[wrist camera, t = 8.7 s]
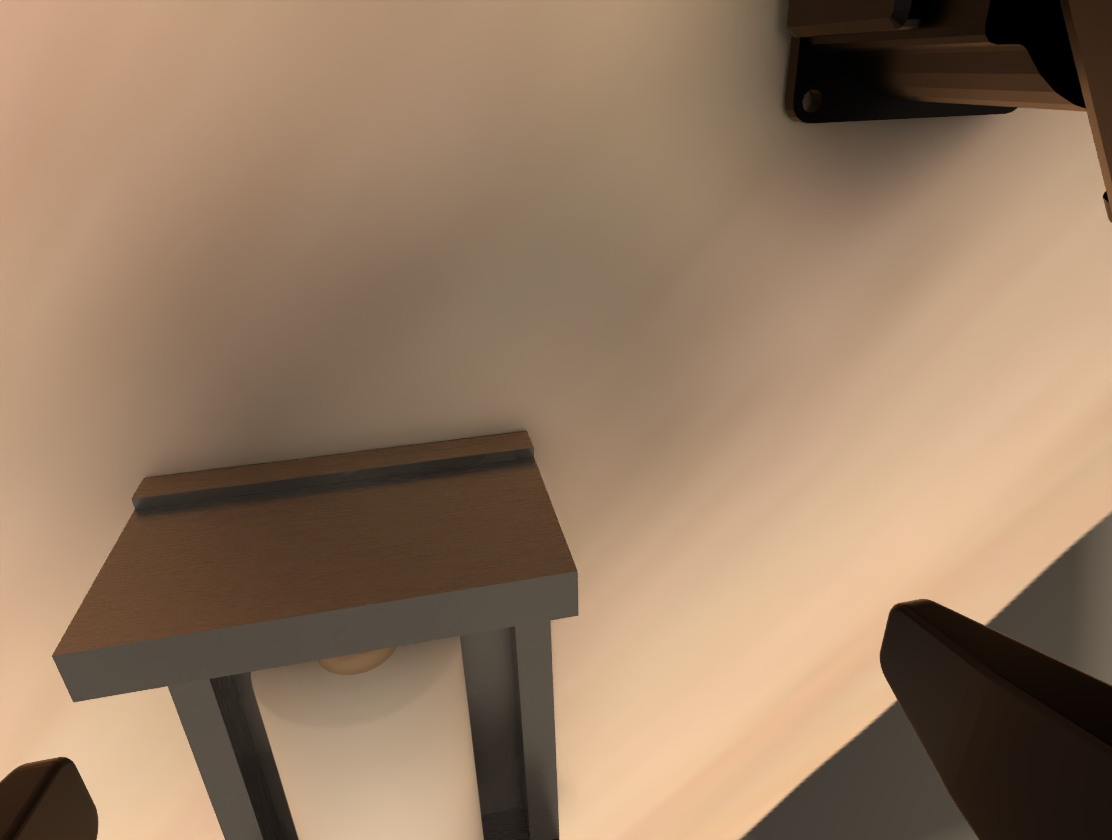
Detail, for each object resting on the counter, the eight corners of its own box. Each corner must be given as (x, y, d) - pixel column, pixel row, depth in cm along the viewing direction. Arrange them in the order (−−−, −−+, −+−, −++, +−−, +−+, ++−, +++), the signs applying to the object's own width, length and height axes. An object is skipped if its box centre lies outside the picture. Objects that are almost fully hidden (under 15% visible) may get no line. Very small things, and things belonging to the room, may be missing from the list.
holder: (526, 431, 20) (577, 559, 15) (546, 802, 27) (584, 978, 22) (143, 478, 18) (46, 643, 13) (272, 862, 25) (242, 1068, 20)
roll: (268, 577, 19) (222, 728, 15) (453, 554, 20) (462, 692, 16) (331, 815, 24) (310, 985, 19) (480, 789, 24) (493, 948, 20)
